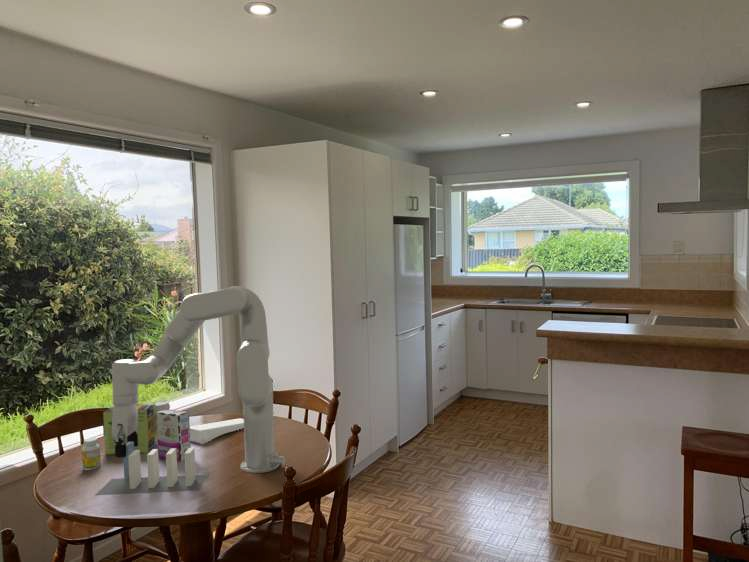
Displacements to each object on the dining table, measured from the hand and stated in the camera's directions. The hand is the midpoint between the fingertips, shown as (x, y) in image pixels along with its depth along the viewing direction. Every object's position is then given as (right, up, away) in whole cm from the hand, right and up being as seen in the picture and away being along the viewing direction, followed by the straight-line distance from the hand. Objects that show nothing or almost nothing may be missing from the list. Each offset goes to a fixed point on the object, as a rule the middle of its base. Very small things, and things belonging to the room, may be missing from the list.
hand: (126, 451), depth 181 cm
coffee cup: (-6, -6, +43) cm, 44 cm away
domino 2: (+12, -7, -9) cm, 17 cm away
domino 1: (+7, -7, -9) cm, 14 cm away
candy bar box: (+10, -7, +14) cm, 19 cm away
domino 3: (+18, -7, -9) cm, 21 cm away
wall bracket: (+19, -6, +42) cm, 46 cm away
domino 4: (+23, -7, -9) cm, 26 cm away
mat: (+12, -8, -9) cm, 17 cm away
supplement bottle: (-15, -8, +8) cm, 19 cm away
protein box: (-9, -7, +26) cm, 28 cm away
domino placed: (+1, -8, 0) cm, 8 cm away
